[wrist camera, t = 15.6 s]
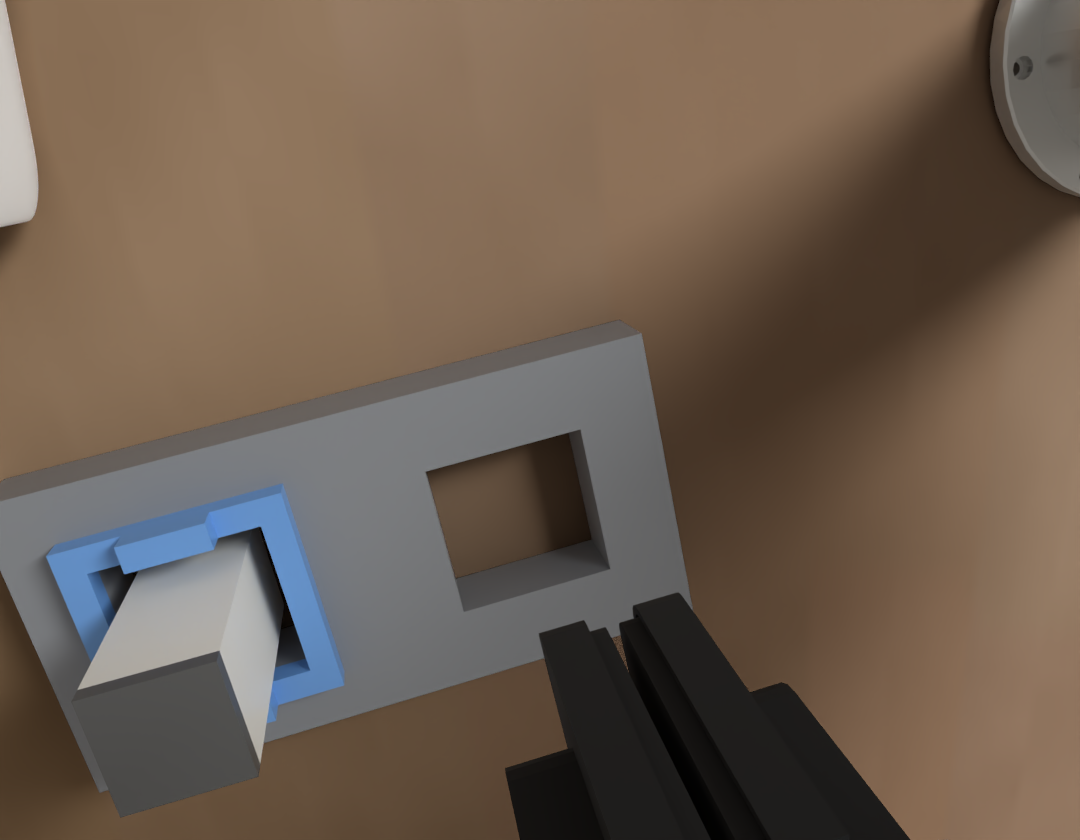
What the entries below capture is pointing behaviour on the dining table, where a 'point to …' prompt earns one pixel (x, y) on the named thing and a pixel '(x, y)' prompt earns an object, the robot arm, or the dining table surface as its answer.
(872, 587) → the dining table surface
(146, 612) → the grey square peg
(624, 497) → the gray peg hole board
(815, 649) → the dining table surface
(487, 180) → the dining table surface
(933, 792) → the dining table surface
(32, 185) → the cable organizer
